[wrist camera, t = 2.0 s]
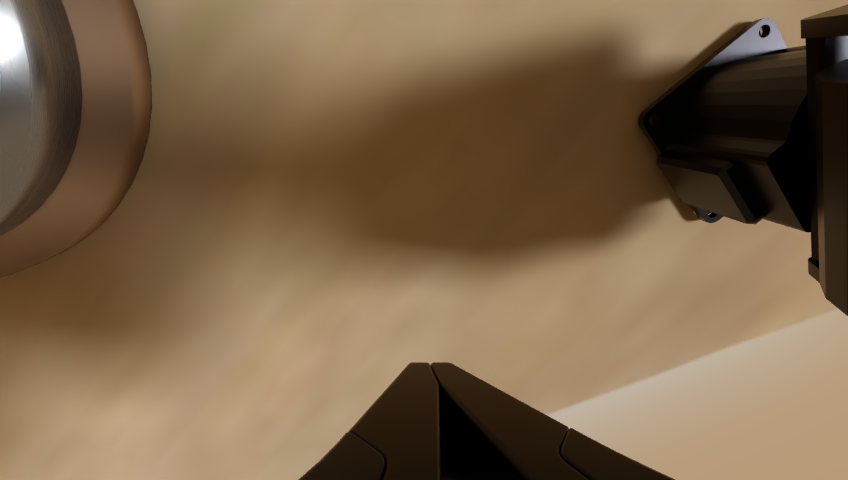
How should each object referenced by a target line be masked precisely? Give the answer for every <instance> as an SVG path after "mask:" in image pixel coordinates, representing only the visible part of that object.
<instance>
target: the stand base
mask: <svg viewBox="0 0 848 480" xmlns="http://www.w3.org/2000/svg"><path fill="white" fill-rule="evenodd" d="M61 1H62V3H63V5H64V7H65V10H66V13H67V17H68V20H69V23H70V26H71V29H72V32H73V35H74V38H75V43H76V48H77V53H78V58H79V63H80V68H81V82H82V96H83V97H82V112H81V124H80V129H79V134H78V138H77V143H76V148H75V150H74V153H73V155H72V158H71V161H70V163H69V166H68V168H67V171H66V172H65V174H64V176H63V178H62V179H61V181H60V183H59V184H58V186H57V188H56V189H55V191H54V192H53V193H52V194H51V196H50V197H49V198H48V199H47V200H46V202H45V203H44V204H43V205H42V206H41V208H40V209H38V210H37V211H36V212H35V213H34V214H33V215H31V216H30V217H29V218H28V219H27V220H26V221H24V222H23V223H22V224H20V225H18V226H17V227H15V228H14V229H12V230H10V231H9V232H7V233H5V234H4V235H2V236H0V277H3V276H7V275H10V274H13V273H15V272H18V271H20V270H23V269H25V268H27V267H30V266H32V265H35V264H37V263H39V262H41V261H44V260H46V259H48V258H50V257H53V256H55V255H57V254H59V253H62V252H63V251H65V250H67V249H68V248H70V247H72V246H73V245H75V244H77V243H78V242H80V241H82V240H83V239H84V238H86V237H87V236H88V235H89V234H91V233H92V232H93V231H94V230H95V229H97V228H98V227H99V226H100V225H101V224H102V223H103V222H104V221H105V220H106V219H107V218H108V217H109V215H110V214H111V213H112V212H113V211H114V210H115V209H116V208H117V206H118V205H119V204H120V202H121V200H122V199H123V197H124V196H125V194H126V193H127V191H128V189H129V188H130V186H131V185H132V182H133V180H134V178H135V175H136V173H137V171H138V168H139V166H140V164H141V161H142V158H143V154H144V151H145V147H146V143H147V139H148V135H149V127H150V118H151V109H152V93H151V72H150V66H149V59H148V53H147V47H146V42H145V38H144V34H143V31H142V27H141V24H140V20H139V17H138V13H137V10H136V7H135V5H134V2H133V0H61Z"/></svg>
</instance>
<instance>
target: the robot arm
mask: <svg viewBox="0 0 848 480" xmlns="http://www.w3.org/2000/svg"><path fill="white" fill-rule="evenodd" d="M760 28H762V30H763V33H762V35H761V37H760V36H759V29H760ZM801 38H806V46H800V47H793V48H787V46H786V44H785V42H784V40H783V38H782V36H781V34H780V32H779V30H778V28H777V26H776V24H775V22H774V21H773V20H772V19H770V18H764V19H760V20H756V21H754V22H752V23H751V24H750V25H748V26H747V27H746V28H745V29H743V30H742V31H741V32H740V33H738V34H737V35H736V36H735V37H733V38H732V39H731V40H730V41H729V42H727V43H726V44H725V45H724V46H722V47H721V48H720V49H719V50H717V51H716V52H715V53H714V54H713V55H711V56H710V57H709V58H708V59H706V60H705V61H704V62H703V63H701V64H700V65H699V66H698V67H697V68H695V69H694V70H693V71H692V72H690V73H689V74H688V75H687V76H685V77H684V78H683V79H682V80H680V81H679V82H678V83H677V84H676V85H674V86H673V87H672V88H671V89H669V90H668V91H667V92H666V93H664V94H663V95H662V96H661V97H660V98H658V99H657V100H656V101H655V102H653V103H652V104H651V105H650V106H648V107H647V108H646V109H645V110H644V111H643V112H642V113H641V114H640V116H639V119H638V124H639V126H640V128H641V130H642V131H643V133H644V134H645V136H646V137H647V139H648V141H649V142H650V144H651V145H652V147H653V148H654V150H655V151H656V153H657V154H658V157H657V164H658V166H659V167H660V169H661V170H662V172H663V174H664V175H665V177H666V178H667V180H668V181H669V183H670V184H671V186H672V187H673V189H674V190H675V192H676V193H677V195H678V197H679V198H680V200H681V201H682V202H683V203H685V204H688V205H691V207H692V208H693V210H694V212H695V213H696V215H697V216H698V218H699V219H701V220H703V221H706V222H709V223H713V222H716V221H718V220H719V219H721V218H722V217H723V216H725V217H728V218H731V219H734V220H737V221H740V222H743V223H746V224H756V223H758V222H759V221H760V220H762V219H765V220H768V221H772V222H775V223H778V224H782V225H785V226H788V227H792V228H795V229H798V230H801V231H805V232H811V248H812V257H810V258H809V259H808V273H809V274H810V275H811V276H812V277H813V278H815V279H816V280H817V281H818V282H819V283H820V285H821V287H822V290H823V293H824V295H825V298H826V299H827V300H829V301H830V302H831V303H832V304H834V305H835V306H836V307H837V308H839V309H840V310H841V311H842V312H843V313H845V314H846V315H847V316H848V5H845V6H842V7H839V8H836V9H833V10H829V11H826V12H823V13H820V14H817V15H814V16H811V17H808V18H805V19H802V20H801ZM651 115H654V117H655V120H654V122H653V124H651V125H650V124H649V117H650V116H651ZM708 211H710V212H712V213H711V214H710V215H708ZM299 480H675V479H673V478H670V477H668V476H666V475H664V474H662V473H660V472H658V471H655V470H653V469H651V468H649V467H647V466H645V465H643V464H641V463H639V462H637V461H635V460H632V459H630V458H628V457H626V456H624V455H622V454H620V453H618V452H616V451H614V450H612V449H610V448H608V447H606V446H604V445H602V444H600V443H598V442H597V441H595V440H593V439H591V438H589V437H587V436H585V435H583V434H582V433H580V432H578V431H576V430H574V429H572V428H570V429H569V428H568V427H567V426H565V425H563V424H561V423H560V422H558V421H556V420H554V419H552V418H551V417H549V416H547V415H545V414H543V413H541V412H540V411H538V410H536V409H534V408H532V407H530V406H529V405H527V404H525V403H523V402H521V401H519V400H518V399H516V398H514V397H512V396H510V395H508V394H506V393H505V392H503V391H501V390H499V389H497V388H495V387H494V386H492V385H490V384H488V383H486V382H485V381H483V380H481V379H479V378H477V377H475V376H474V375H472V374H470V373H468V372H466V371H464V370H463V369H461V368H459V367H457V366H455V365H453V364H452V363H432V364H431V365H430V364H429V363H410V364H409V365H408V366H407V367H406V368H405V369H404V370H403V371H402V372H401V373H400V375H399V376H398V377H397V378H396V379H395V380H394V381H393V382H392V384H391V385H390V386H389V387H388V388H387V389H386V390H385V391H384V392H383V394H382V395H381V396H380V397H379V398H378V399H377V400H376V401H375V403H374V404H373V405H372V406H371V407H370V408H369V409H368V410H367V411H366V413H365V414H364V415H363V416H362V417H361V418H360V419H359V420H358V422H357V423H356V424H355V425H354V426H353V427H352V428H351V429H350V430H349V432H347V433H346V434H345V435H344V436H343V437H342V438H341V439H340V441H339V442H338V443H337V444H336V445H335V446H334V447H333V448H332V449H331V450H330V451H329V452H328V453H327V454H326V455H325V456H324V457H323V458H322V459H321V460H320V461H319V462H318V463H317V464H316V465H315V466H313V467H312V468H311V469H310V470H309V471H308V472H307V473H306V474H304V475H303V476H302V477H301V478H300V479H299Z"/></svg>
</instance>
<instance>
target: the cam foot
mask: <svg viewBox="0 0 848 480" xmlns="http://www.w3.org/2000/svg"><path fill="white" fill-rule="evenodd" d="M82 97H83V96H82V82H81V68H80V63H79V58H78V53H77V48H76V43H75V38H74V35H73V32H72V29H71V26H70V23H69V20H68V17H67V13H66V10H65V7H64V5H63V3H62V1H61V0H0V236H2V235H4V234H5V233H7V232H9V231H10V230H12V229H14V228H15V227H17V226H18V225H20V224H22V223H23V222H24V221H26V220H27V219H28V218H29V217H30V216H31V215H33V214H34V213H35V212H36V211H37V210H38V209H40V208H41V206H42V205H43V204H44V203H45V202H46V200H47V199H48V198H49V197H50V196H51V194H52V193H53V192H54V191H55V189H56V188H57V186H58V184H59V183H60V181H61V179H62V178H63V176H64V174H65V172H66V171H67V168H68V166H69V163H70V161H71V158H72V155H73V153H74V150H75V148H76V143H77V138H78V134H79V129H80V124H81V112H82Z"/></svg>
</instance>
